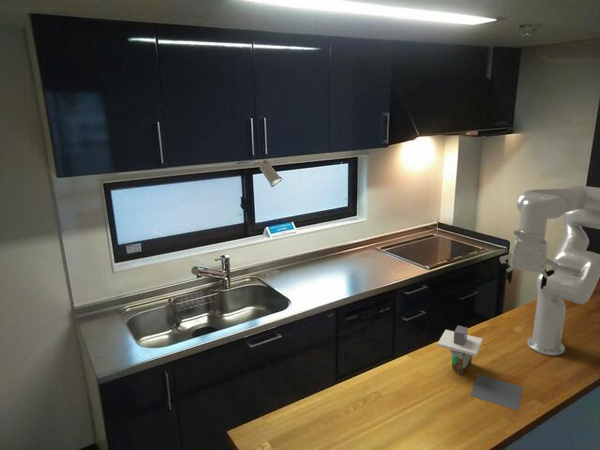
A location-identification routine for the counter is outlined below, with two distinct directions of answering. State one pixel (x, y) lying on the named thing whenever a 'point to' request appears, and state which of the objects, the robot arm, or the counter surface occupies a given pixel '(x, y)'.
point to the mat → (497, 392)
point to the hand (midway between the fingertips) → (525, 284)
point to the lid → (460, 341)
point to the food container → (460, 361)
